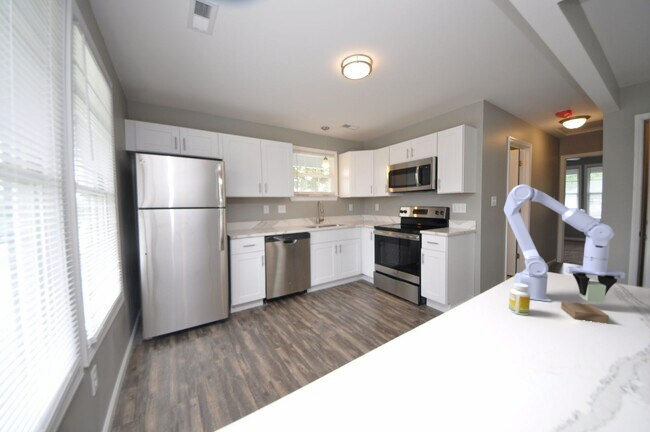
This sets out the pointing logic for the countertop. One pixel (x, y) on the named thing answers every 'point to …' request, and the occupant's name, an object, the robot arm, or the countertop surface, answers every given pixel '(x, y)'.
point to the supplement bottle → (519, 299)
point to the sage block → (595, 292)
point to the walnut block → (584, 312)
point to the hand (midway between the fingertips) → (591, 295)
